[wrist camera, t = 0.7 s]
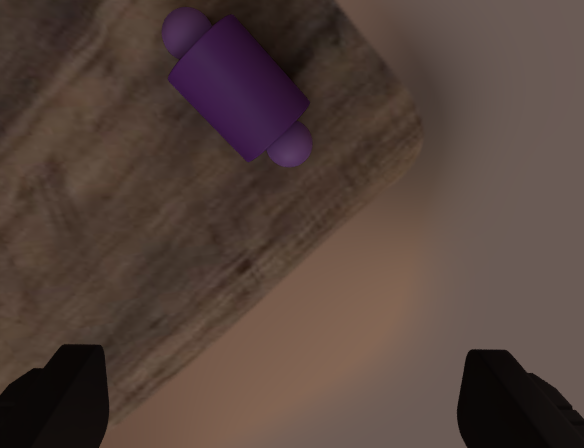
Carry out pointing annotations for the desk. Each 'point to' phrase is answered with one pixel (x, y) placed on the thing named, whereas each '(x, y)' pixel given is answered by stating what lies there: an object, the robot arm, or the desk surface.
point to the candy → (237, 87)
